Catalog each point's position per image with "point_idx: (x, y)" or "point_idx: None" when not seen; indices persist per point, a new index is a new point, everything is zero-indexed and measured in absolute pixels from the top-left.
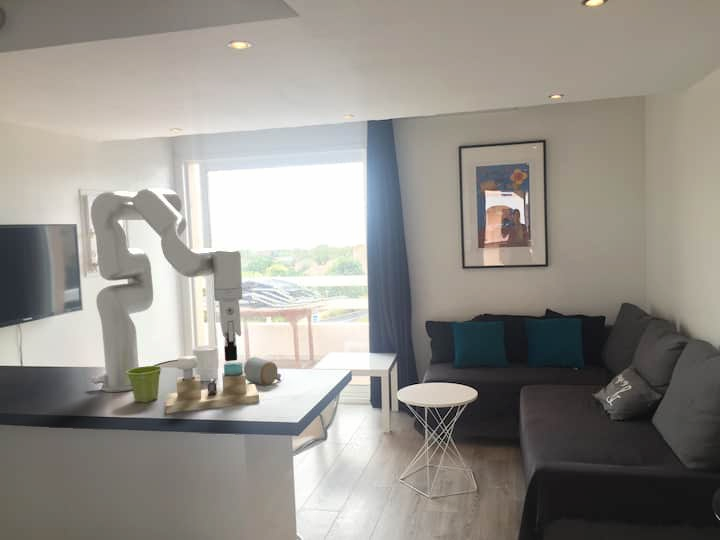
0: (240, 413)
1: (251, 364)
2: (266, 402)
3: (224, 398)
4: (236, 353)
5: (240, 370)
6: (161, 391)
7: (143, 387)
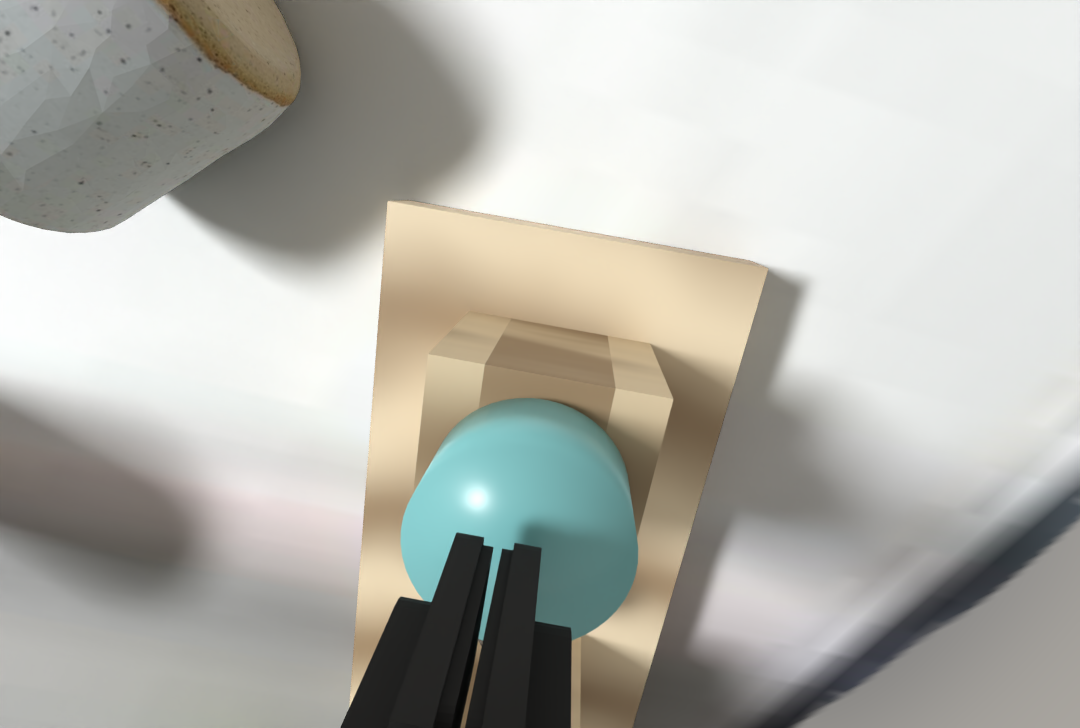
0: (917, 447)
1: (50, 153)
2: (797, 211)
3: (683, 515)
4: (533, 620)
5: (612, 455)
6: (140, 700)
7: None
